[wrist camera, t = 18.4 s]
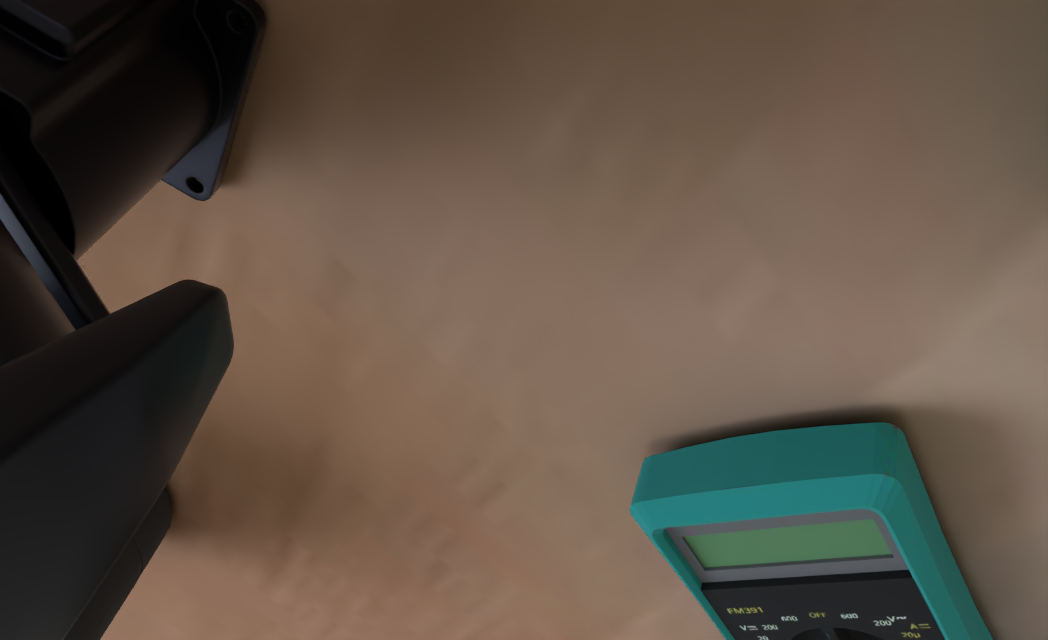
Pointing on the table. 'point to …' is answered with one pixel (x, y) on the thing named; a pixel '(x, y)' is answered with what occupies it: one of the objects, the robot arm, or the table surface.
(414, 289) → the table surface
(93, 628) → the pen holder
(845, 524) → the digital multimeter
